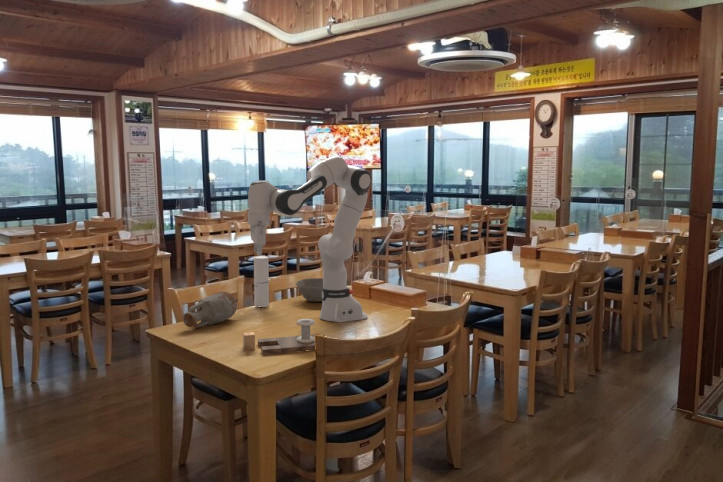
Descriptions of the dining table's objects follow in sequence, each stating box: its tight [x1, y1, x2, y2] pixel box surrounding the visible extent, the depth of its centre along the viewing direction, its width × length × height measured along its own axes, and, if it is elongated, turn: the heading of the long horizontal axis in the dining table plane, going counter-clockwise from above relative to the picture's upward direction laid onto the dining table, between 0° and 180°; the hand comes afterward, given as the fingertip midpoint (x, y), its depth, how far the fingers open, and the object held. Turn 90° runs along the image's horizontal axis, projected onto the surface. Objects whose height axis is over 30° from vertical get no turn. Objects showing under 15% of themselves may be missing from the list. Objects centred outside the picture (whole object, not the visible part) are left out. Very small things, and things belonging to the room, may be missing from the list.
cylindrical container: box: [253, 255, 270, 308], centre depth 290 cm, size 7×7×25 cm
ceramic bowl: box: [295, 277, 323, 303], centre depth 304 cm, size 22×23×10 cm
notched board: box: [257, 334, 316, 356], centre depth 228 cm, size 24×14×2 cm, turn 108°
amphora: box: [182, 290, 239, 329], centre depth 259 cm, size 14×16×30 cm
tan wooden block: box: [242, 331, 256, 351], centre depth 224 cm, size 4×4×6 cm
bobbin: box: [296, 318, 316, 343], centre depth 229 cm, size 7×7×8 cm
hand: (257, 253), depth 238 cm, fingers open, 8 cm apart
